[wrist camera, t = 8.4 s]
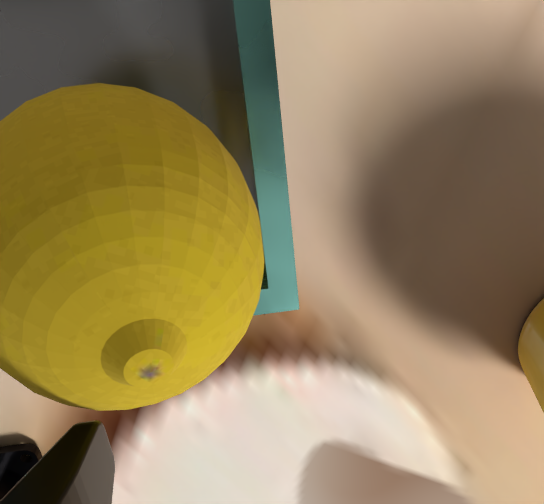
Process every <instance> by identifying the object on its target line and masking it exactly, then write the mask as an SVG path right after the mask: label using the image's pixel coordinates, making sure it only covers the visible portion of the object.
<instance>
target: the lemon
mask: <svg viewBox="0 0 544 504" xmlns="http://www.w3.org/2000/svg"><path fill="white" fill-rule="evenodd" d="M263 272H264V252H263V243H262V235H261V227H260V220H259V215H258V211H257V208H256V205H255V202H254V200H253V197H252V195H251V193H250V191H249V188H248V186H247V184H246V181H245V179H244V177H243V174H242V172H241V170H240V168H239V166H238V164H237V163H236V161H235V160H234V158H233V157H232V156H231V154H230V153H229V152H228V151H227V150H226V148H225V147H224V146H223V145H222V143H221V142H220V141H219V140H218V139H217V137H216V136H215V135H214V134H213V132H212V131H211V130H210V129H209V128H208V127H207V126H206V125H204V124H203V123H202V122H200V121H199V120H197V119H196V118H195V117H193V116H192V115H191V114H189V113H188V112H186V111H185V110H184V109H182V108H181V107H180V106H178V105H177V104H175V103H174V102H172V101H169V100H167V99H164V98H162V97H159V96H156V95H154V94H151V93H149V92H146V91H143V90H141V89H138V88H135V87H128V86H119V85H111V84H103V83H94V84H85V85H77V86H69V87H61V88H58V89H56V90H53V91H51V92H48V93H46V94H43V95H41V96H38V97H36V98H33V99H31V100H28V101H26V102H25V103H23V104H22V105H21V106H19V107H18V108H17V109H15V110H14V111H13V112H11V113H10V114H9V115H8V116H6V117H5V118H4V119H2V120H1V121H0V368H1V369H2V370H3V371H5V372H6V373H8V374H9V375H10V376H12V377H13V378H14V379H16V380H17V381H19V382H20V383H22V384H23V385H24V386H26V387H27V388H29V389H30V390H31V391H33V392H34V393H37V394H39V395H42V396H44V397H47V398H49V399H52V400H54V401H57V402H59V403H62V404H65V405H69V406H74V407H80V408H87V409H93V410H99V411H100V410H128V409H132V408H137V407H142V406H147V405H151V404H156V403H158V402H161V401H163V400H166V399H168V398H171V397H173V396H176V395H179V394H181V393H183V392H184V391H186V390H188V389H189V388H191V387H192V386H194V385H196V384H197V383H199V382H201V381H202V380H204V379H205V378H206V377H207V376H208V375H210V374H211V373H212V372H213V371H214V370H215V369H216V368H217V367H218V366H220V365H221V364H222V363H223V362H224V361H225V360H226V358H227V357H228V356H229V355H230V353H231V352H232V351H233V349H234V348H235V347H236V345H237V344H238V343H239V341H240V340H241V339H242V337H243V336H244V335H245V333H246V331H247V328H248V326H249V324H250V321H251V319H252V317H253V314H254V312H255V310H256V307H257V304H258V302H259V298H260V292H261V285H262V279H263Z"/></svg>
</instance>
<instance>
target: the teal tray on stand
mask: <svg viewBox="0 0 544 504" xmlns="http://www.w3.org/2000/svg"><path fill="white" fill-rule="evenodd" d="M94 83H103V84H111V85H119V86H128V87H135V88H138V89H141V90H143V91H146V92H149V93H151V94H154V95H156V96H159V97H162V98H164V99H167V100H169V101H172V102H174V103H175V104H177V105H178V106H180V107H181V108H182V109H184V110H185V111H186V112H188V113H189V114H191V115H192V116H193V117H195V118H196V119H197V120H199V121H200V122H202V123H203V124H204V125H206V126H207V127H208V128H209V129H210V130H211V131H212V132H213V134H214V135H215V136H216V137H217V139H218V140H219V141H220V142H221V143H222V145H223V146H224V147H225V148H226V150H227V151H228V152H229V153H230V154H231V156H232V157H233V158H234V160H235V161H236V163H237V164H238V166H239V168H240V170H241V172H242V174H243V177H244V179H245V181H246V184H247V186H248V188H249V191H250V193H251V195H252V197H253V200H254V202H255V205H256V208H257V211H258V215H259V220H260V227H261V235H262V243H263V252H264V272H263V279H262V285H261V292H260V298H259V302H258V304H257V307H256V310H255V312H254V314H253V315H260V314H268V313H275V312H283V311H290V310H297V309H299V300H298V290H297V279H296V269H295V258H294V248H293V237H292V227H291V216H290V206H289V195H288V185H287V174H286V164H285V153H284V143H283V132H282V122H281V111H280V101H279V90H278V80H277V70H276V59H275V49H274V38H273V28H272V17H271V7H270V0H0V121H1V120H2V119H4V118H5V117H6V116H8V115H9V114H10V113H11V112H13V111H14V110H15V109H17V108H18V107H19V106H21V105H22V104H23V103H25V102H26V101H28V100H31V99H33V98H36V97H38V96H41V95H43V94H46V93H48V92H51V91H53V90H56V89H58V88H61V87H69V86H77V85H85V84H94Z"/></svg>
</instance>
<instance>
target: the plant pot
mask: <svg viewBox="0 0 544 504" xmlns="http://www.w3.org/2000/svg"><path fill="white" fill-rule="evenodd" d="M518 356H519V360H520V364H521V366H522V369H523V371H524V373H525V375H526V377H527V379H528V381H529V383H530V385H531V387H532V390H533V392H534V394H535V396H536V398H537V400H538V402H539V404H540V406H541V408H542V410H543V412H544V298H543V299H542V300H541V301H540V302H539V303H538V305H537V306H536V307H535V308H534V309H533V311H532V312H531V313H530V315H529V317H528V318H527V320H526V322H525V324H524V326H523V328H522V331H521V334H520V337H519V342H518Z"/></svg>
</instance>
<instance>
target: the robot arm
mask: <svg viewBox="0 0 544 504" xmlns="http://www.w3.org/2000/svg"><path fill="white" fill-rule="evenodd" d="M25 454H28V455H30V456H27V455H25ZM114 473H115V462H114V456H113V453H112V450H111V446H110V443H109V440H108V437H107V434H106V431H105V428H104V426H103V424H102V423H101V422H100V421H97V420H96V421H89V422H81V423H77V424H75V425H73V426H72V427H71V428H70V429H69V430H68V431H67V432H66V433H65V434H64V435H63V436H62V437H61V438H60V439H59V440H58V442H57V443H56V444H55V445H54V446H53V447H52V448H51V449H50V450H49V451H48V452H47V453H46V454H45V455H44V456H43V457H42V454H41V452H40V450H39V448H38V447H37V446H35V445H33V444H19V445H12V446H5V447H0V504H112V493H113V483H114Z"/></svg>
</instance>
